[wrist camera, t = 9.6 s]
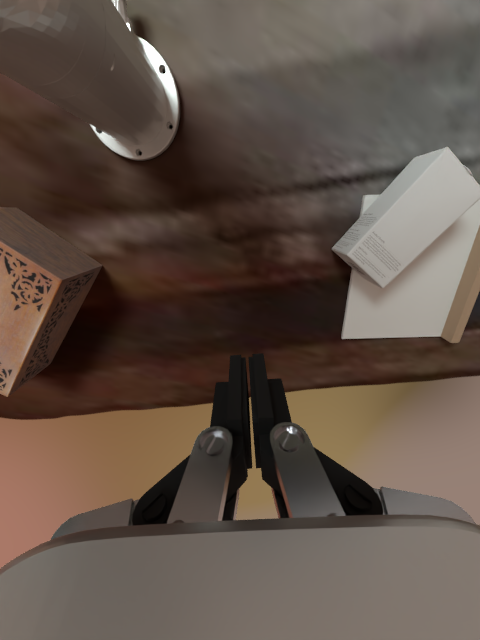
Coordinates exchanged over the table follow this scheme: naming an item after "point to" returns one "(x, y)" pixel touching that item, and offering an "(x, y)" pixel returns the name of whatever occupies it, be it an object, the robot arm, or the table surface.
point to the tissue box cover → (36, 295)
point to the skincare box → (408, 216)
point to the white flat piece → (421, 288)
